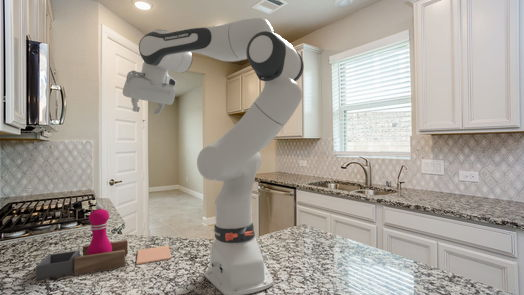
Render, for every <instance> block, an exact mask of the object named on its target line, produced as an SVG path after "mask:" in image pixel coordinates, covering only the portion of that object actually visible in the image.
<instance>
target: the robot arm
mask: <svg viewBox="0 0 524 295" xmlns="http://www.w3.org/2000/svg"><path fill="white" fill-rule="evenodd" d="M138 51H139V55H140V57H141V59H142V60H143V63H142V68H141V71H136V70H130V71H129V72H128V73H127V74H126V79H125V82H124V85H123V89H122V94H123V96H124V97H126V98H129V99H130V100H131V104H132V112H135V113H139V112H140V109H141V108H140V107H139V106H138V103H139V101H140V100H141V101H146V102H150V103H151V102H152V103H157V108H155V109H154V111H153V114H154V115H158V116H160V115H161V111H162V110H163V109H164V108H165V105H169V106H172V104H174V102H175V96H176V88H175V87H177V85H178V81H177V80H175V79H174V78H172V76H170V75H169V71H171V72H175V73H180V74H184V73H186V72H187V71H188V70H189V69H190V68H191V66H192V64H193V54H192V53H195V54H200V55H204V56H207V57H209V58H212V59H215V60H218V61H220V62H240V61H243V60H247V61H248V63H249V65H250V67H251V68H252V70H253V71H254V72H255V74H256V76H257V78H258V80H260V81H261V82H264V85H263V88H262V90H261V92H260V93H259V95H258V96H257V97H256V99H255V100H254V101H253V103H252V104H251V105H250V106H249V108H248V109H247V111H245V113H244V114H243V116H242V117H241V118H240V119H239V120H238V121H237V123H236V124H234V125H233V126H232V127H231V128H230V129H229V130H227V132H225V133H224V134H223V135H221V137H220V138H218V139H217V140H216V141H214V142H212V143H211V144H208V145H207V146H205V147H203V148H202V149H201V150H200V152H199V153H198V156H197V158H196V166H197V170H198V172H199V174H200V175H201V177H202V178H204V179H206V180H209V181H214V182H223V183H222V187H221V189H220V191H219V193H218V194H217V196H216V198H215V200H214V205H215V206H214V207H215V208H214V210H215V211H214V212H215V224H214V229H213V232H214V238H215V239H214V241H213V242H212V243H211V245H210V247H209V269H206V271H204V274H203V275H204V277H205V278H206V279H207V280H208V281H209V282H210V283H211V284H212V285H213V286H214V287H215V288H216V289H217V290H218V291H220V292H221V293H222V294H223V295H249V294H250V295H251V294H254V293H257V292H261V291H264V290H266V289H269V288H271V287H272V286H273V285H274V280H273V277H272V275H271V273H270V271H269V270H268V267H267V266H266V263H265V262H267V261H268V256H267V253H266V252H263V253H262V252H261V251H262V245H261V244H260V245H259V244H258V241H257V238H256V237H255V236H256V234H255V227H254V223H253V219H252V218H253V217H252V215H253V214H252V213H253V212H252V197H253V189H254V184H255V179H256V177H257V173H258V171H259V170H260V168H261V166H262V155H261V152H260V151H262V150H263V149H265V148H266V147H267V146H269V145H270V143H271V142H272V141H273V140H274V139H275V137H277V135H278V134H279V133H280V132H281V131H282V129H283V128H284V127H285V125H286V124H287V123H288V122H289V120H290V119H291V118H292V116H293V115H294V113H295V112H296V110H297V108H298V107H299V105H300V103H301V100H302V98H303V91H302V89H301V86H300V85H299V84H298V82H297V81H299V79H300V78H301V76H302V75H303V72H304V70H305V69H304V67H305V66H304V64H305V63H304V61H303V58H302V55H301V54H300V53H299V52H298V51H297V50H296V49H295V48H294V46H293V45H292V44H291V43H290V42H288V41H287V40H286V39H284V38H282V36H281V35H279V34H278V33H275V32H274V29H273V26H272V25H271V23H270V22H269V20H267V19H266V18H262V17H256V18H255V17H253V18H245V19H244V18H243V19H240V20H236V21H233V22H229V23H225V24H220V25H214V26H213V25H212V26H206V27H195V28H189V29H184V30H182V29H181V30H176V31H172V32H170V31H168V30H163V29H159V28H158V29H153V30H152V31H150V32H148V33H146V34H145V35H143V37H142V38H141V39H140V40H139V43H138Z"/></svg>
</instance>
